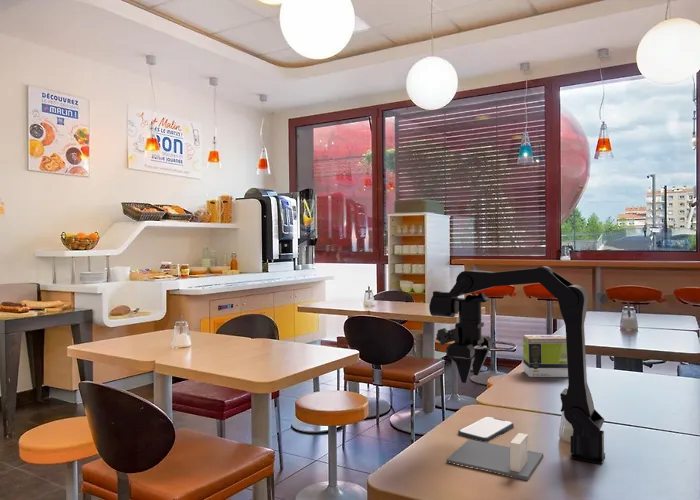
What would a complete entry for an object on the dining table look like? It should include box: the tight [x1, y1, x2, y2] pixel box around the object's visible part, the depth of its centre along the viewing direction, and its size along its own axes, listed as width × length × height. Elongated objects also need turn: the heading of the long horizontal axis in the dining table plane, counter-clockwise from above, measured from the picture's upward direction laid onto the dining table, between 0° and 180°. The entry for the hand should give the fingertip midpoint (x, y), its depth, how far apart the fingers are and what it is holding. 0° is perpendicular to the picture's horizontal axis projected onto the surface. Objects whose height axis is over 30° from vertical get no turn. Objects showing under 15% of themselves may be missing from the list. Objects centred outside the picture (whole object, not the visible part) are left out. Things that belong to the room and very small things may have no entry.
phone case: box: [457, 416, 514, 442], centre depth 145 cm, size 9×2×16 cm
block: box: [509, 432, 529, 472], centre depth 120 cm, size 7×2×6 cm, turn 148°
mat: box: [445, 438, 544, 481], centre depth 125 cm, size 18×15×1 cm
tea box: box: [522, 334, 568, 378], centre depth 207 cm, size 15×10×15 cm, turn 84°
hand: (470, 379), depth 141 cm, fingers open, 9 cm apart
